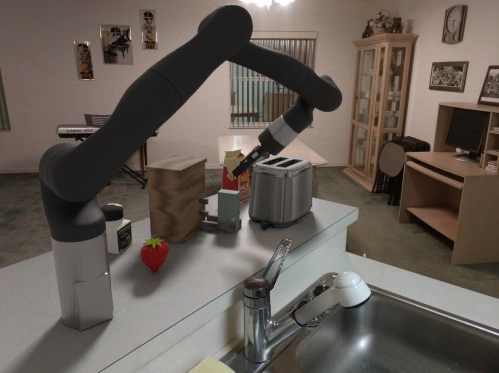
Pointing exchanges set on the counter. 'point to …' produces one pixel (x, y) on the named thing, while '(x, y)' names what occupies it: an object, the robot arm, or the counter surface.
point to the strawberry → (154, 254)
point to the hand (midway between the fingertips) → (238, 171)
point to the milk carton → (230, 180)
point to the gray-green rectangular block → (229, 207)
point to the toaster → (280, 191)
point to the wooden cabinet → (180, 199)
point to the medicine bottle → (116, 228)
